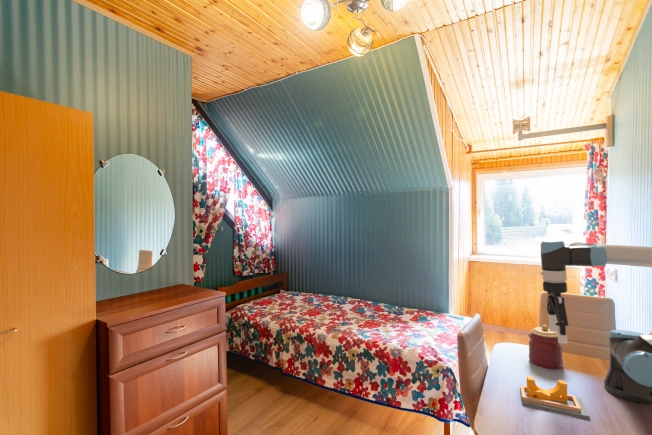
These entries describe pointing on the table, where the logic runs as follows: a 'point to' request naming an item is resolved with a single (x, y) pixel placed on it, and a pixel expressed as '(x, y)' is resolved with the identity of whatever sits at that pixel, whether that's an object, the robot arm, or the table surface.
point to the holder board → (556, 404)
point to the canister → (545, 348)
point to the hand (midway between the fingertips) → (558, 337)
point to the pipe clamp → (547, 391)
